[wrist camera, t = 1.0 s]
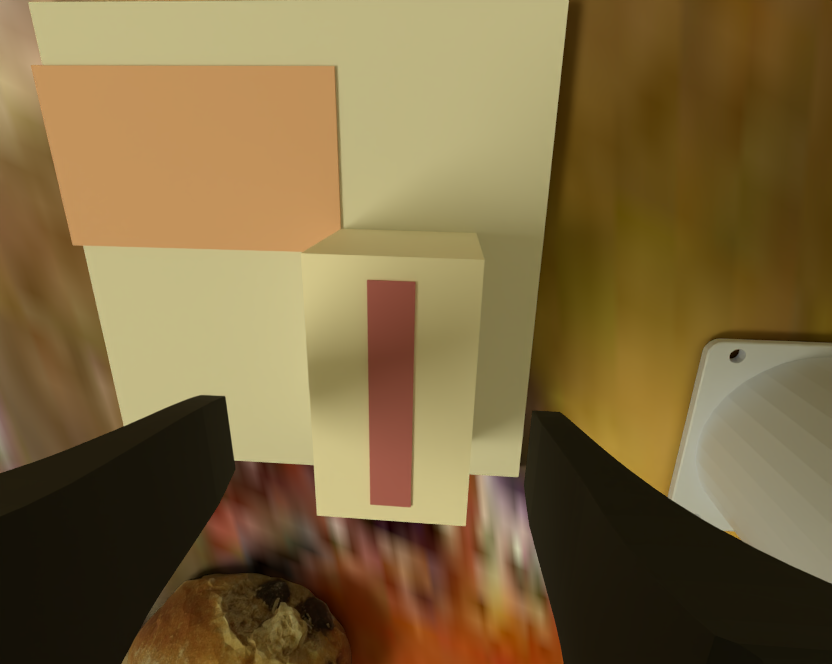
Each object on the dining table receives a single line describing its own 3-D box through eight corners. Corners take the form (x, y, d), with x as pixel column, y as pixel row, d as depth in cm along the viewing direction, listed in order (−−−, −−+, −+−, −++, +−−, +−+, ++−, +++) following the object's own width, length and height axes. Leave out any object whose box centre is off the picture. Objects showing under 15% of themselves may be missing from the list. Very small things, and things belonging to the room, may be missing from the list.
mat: (564, 5, 14) (569, -3, 13) (516, 467, 19) (518, 478, 19) (35, 8, 15) (15, 0, 14) (132, 445, 20) (121, 454, 20)
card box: (476, 232, 16) (484, 260, 11) (463, 441, 18) (465, 527, 14) (341, 228, 16) (299, 253, 12) (348, 435, 19) (316, 517, 14)
